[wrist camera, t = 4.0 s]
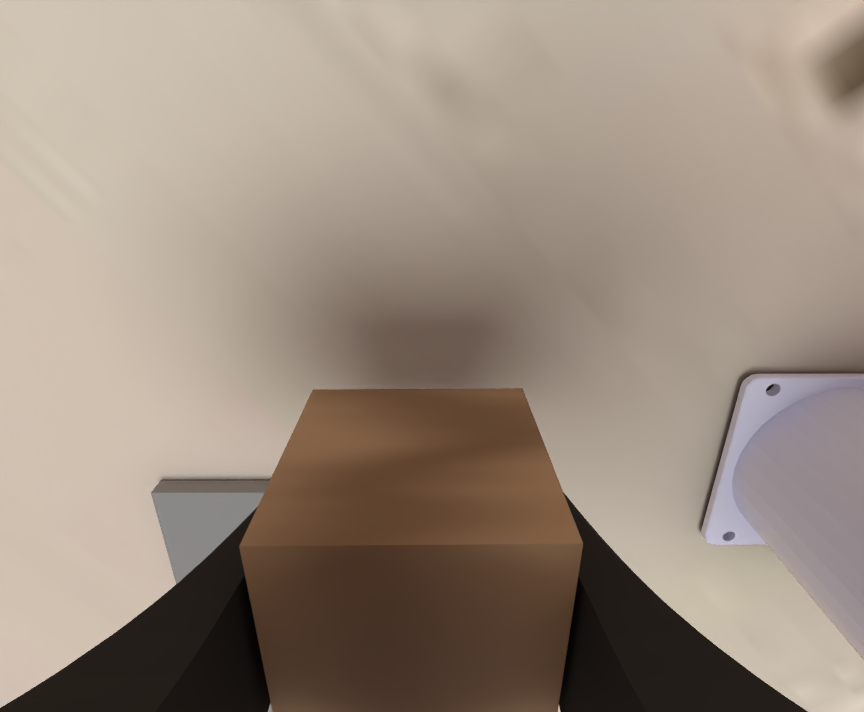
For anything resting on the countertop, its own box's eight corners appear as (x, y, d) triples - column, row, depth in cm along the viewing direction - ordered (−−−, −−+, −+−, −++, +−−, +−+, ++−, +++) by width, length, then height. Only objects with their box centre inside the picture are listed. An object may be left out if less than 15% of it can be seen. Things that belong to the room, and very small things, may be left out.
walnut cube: (522, 388, 12) (583, 543, 7) (509, 548, 14) (551, 751, 9) (312, 389, 12) (238, 546, 7) (330, 550, 14) (281, 754, 9)
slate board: (495, 479, 21) (497, 492, 20) (482, 696, 26) (484, 712, 25) (160, 480, 21) (150, 492, 20) (218, 696, 26) (212, 713, 25)
